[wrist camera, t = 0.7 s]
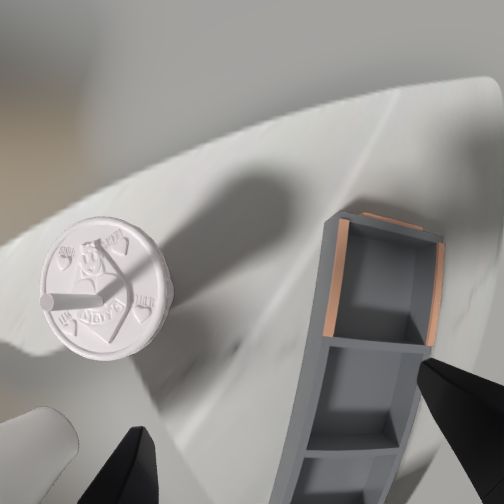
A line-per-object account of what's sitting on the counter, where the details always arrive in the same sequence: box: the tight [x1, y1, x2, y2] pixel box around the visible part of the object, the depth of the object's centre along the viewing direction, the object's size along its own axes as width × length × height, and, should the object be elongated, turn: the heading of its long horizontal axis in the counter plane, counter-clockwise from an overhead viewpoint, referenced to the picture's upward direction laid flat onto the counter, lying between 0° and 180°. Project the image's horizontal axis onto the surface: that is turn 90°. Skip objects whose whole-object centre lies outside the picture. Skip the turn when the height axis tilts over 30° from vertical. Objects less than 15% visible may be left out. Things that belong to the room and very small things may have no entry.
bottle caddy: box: [269, 211, 445, 504], centre depth 20 cm, size 25×9×4 cm, turn 170°
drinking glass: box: [0, 406, 79, 504], centre depth 12 cm, size 7×7×15 cm
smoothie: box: [40, 216, 174, 361], centre depth 15 cm, size 6×6×14 cm
